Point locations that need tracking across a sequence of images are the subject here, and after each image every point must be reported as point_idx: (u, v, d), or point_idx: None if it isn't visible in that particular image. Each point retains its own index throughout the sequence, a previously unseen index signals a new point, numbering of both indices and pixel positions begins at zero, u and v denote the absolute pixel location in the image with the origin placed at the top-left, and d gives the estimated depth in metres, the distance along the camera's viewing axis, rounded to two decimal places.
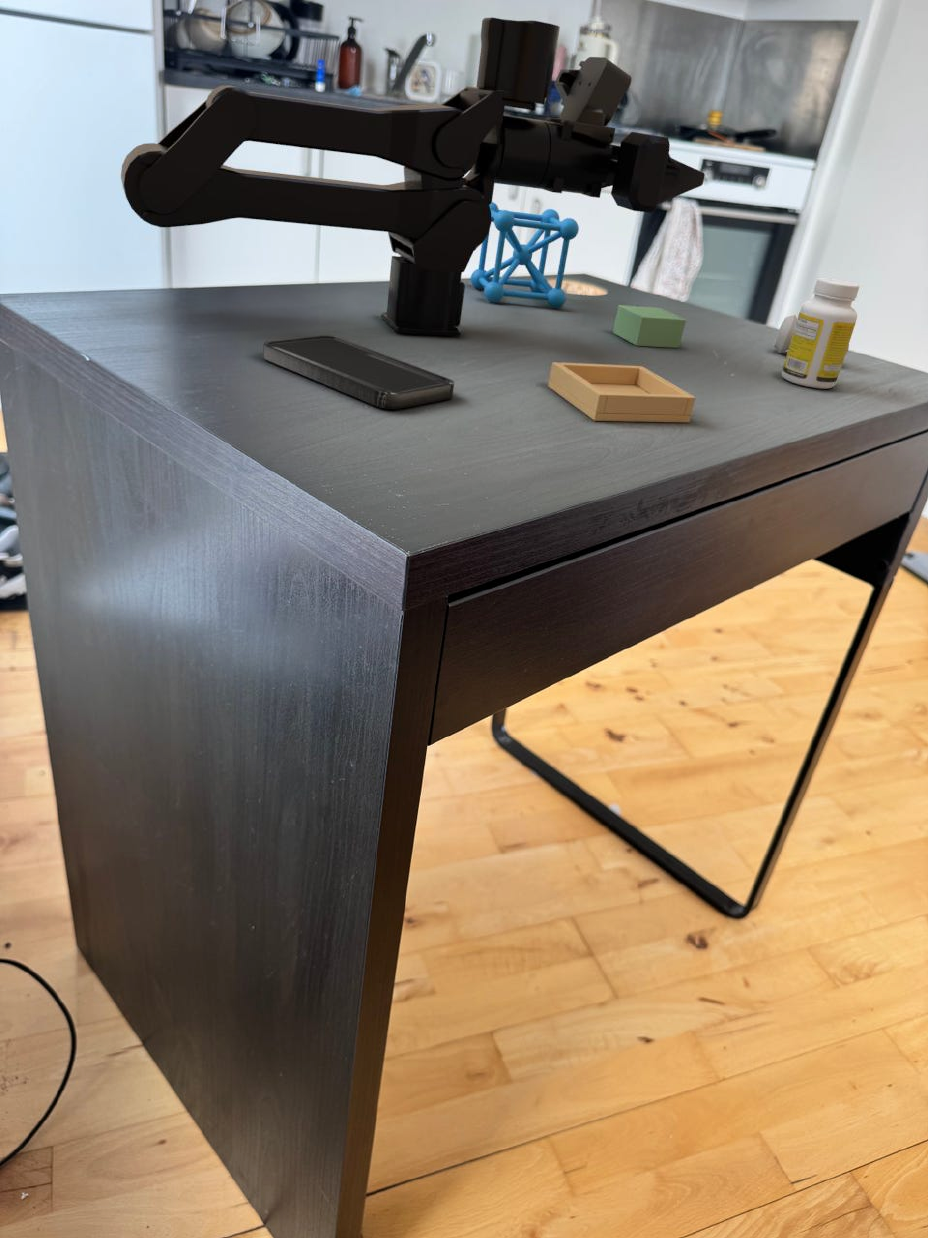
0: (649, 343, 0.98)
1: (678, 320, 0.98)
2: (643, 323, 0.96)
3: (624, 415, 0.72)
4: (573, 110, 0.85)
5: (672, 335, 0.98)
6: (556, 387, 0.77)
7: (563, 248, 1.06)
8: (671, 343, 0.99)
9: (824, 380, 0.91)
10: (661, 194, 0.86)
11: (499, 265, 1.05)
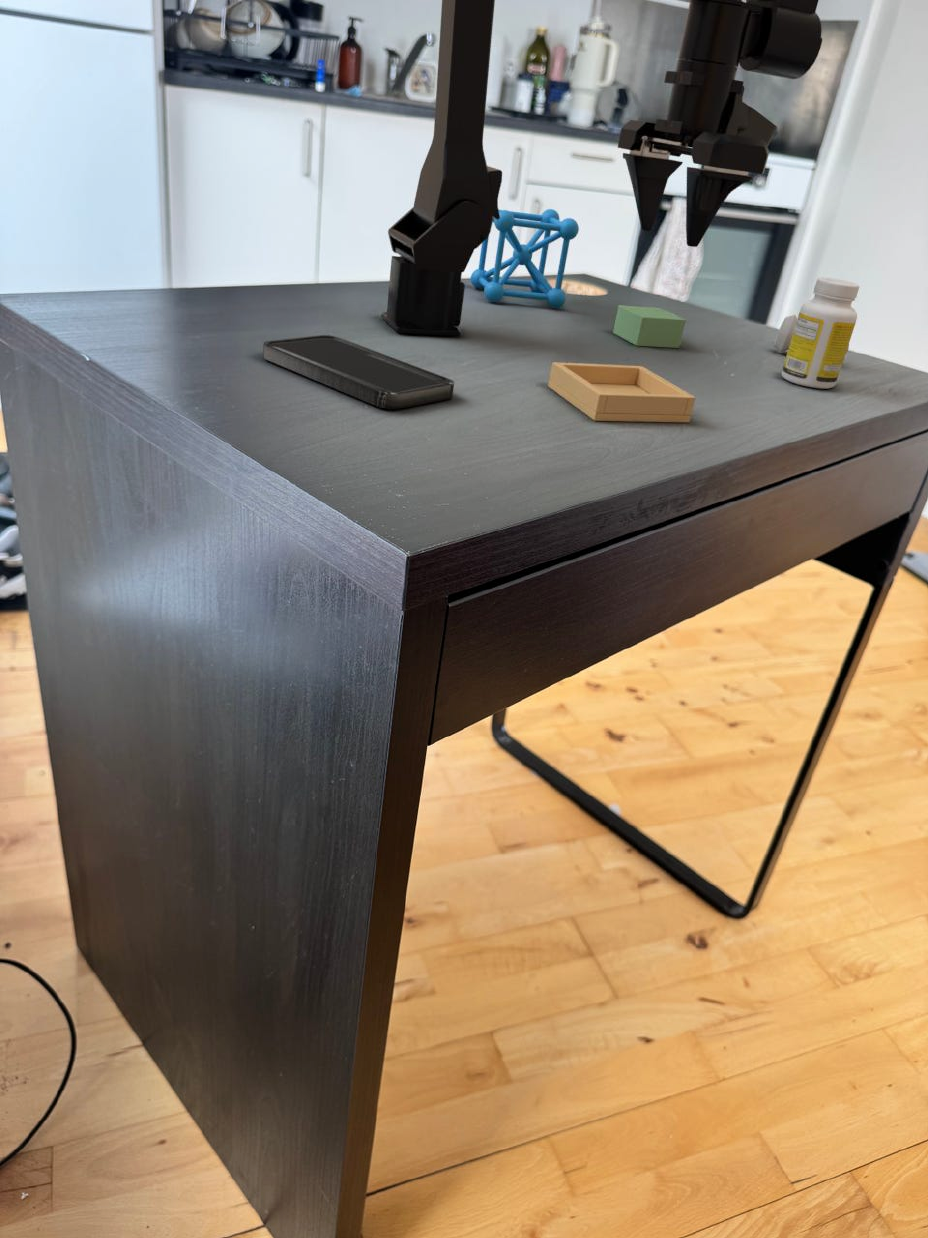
0: (649, 343, 0.98)
1: (678, 320, 0.98)
2: (643, 323, 0.96)
3: (624, 415, 0.72)
4: None
5: (672, 335, 0.98)
6: (556, 387, 0.77)
7: (563, 248, 1.06)
8: (671, 343, 0.99)
9: (824, 380, 0.91)
10: (701, 189, 0.87)
11: (499, 265, 1.05)
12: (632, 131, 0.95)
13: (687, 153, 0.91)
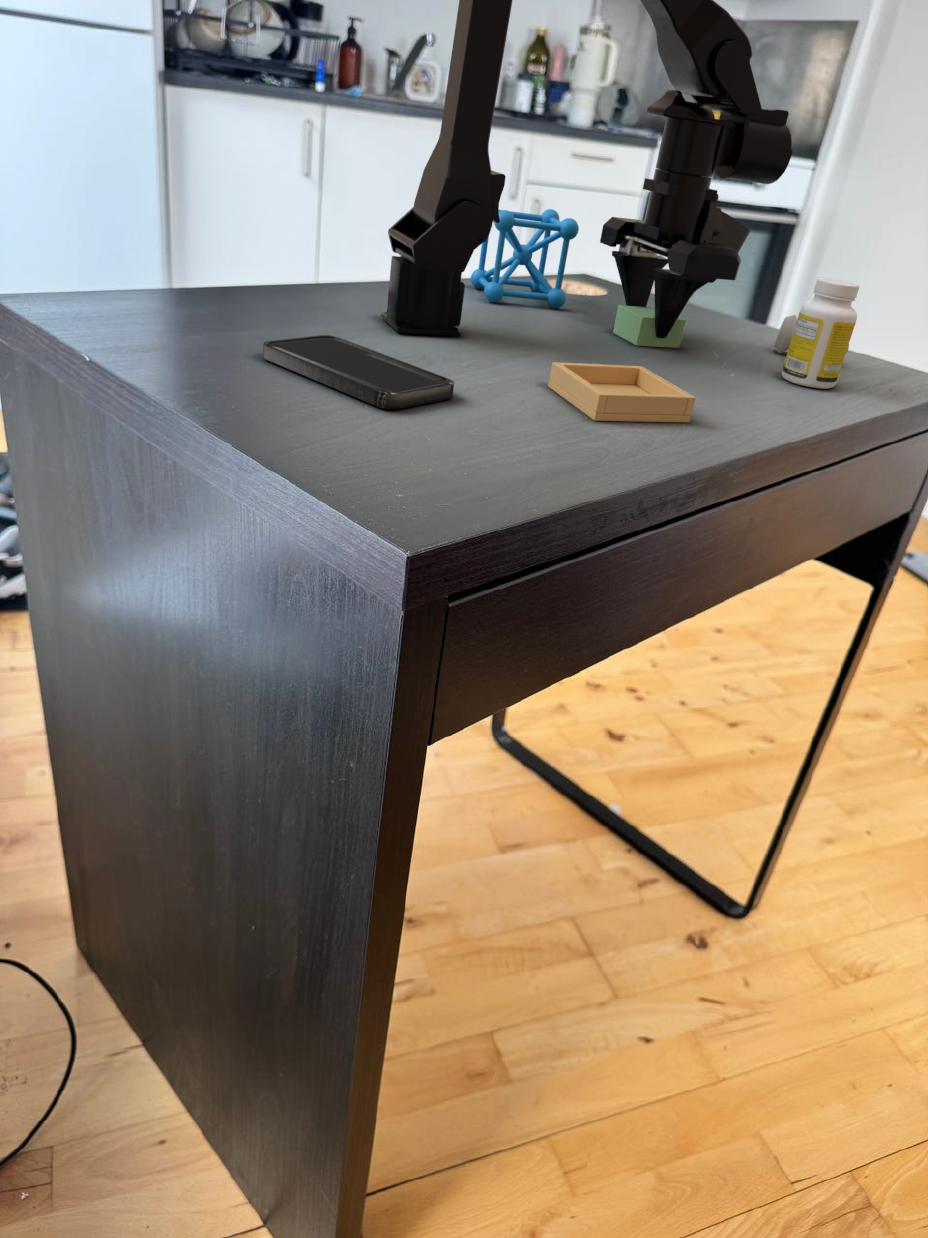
0: (649, 343, 0.98)
1: (678, 320, 0.98)
2: (642, 323, 0.96)
3: (624, 415, 0.72)
4: None
5: (672, 335, 0.98)
6: (556, 387, 0.77)
7: (563, 248, 1.06)
8: (671, 343, 0.99)
9: (824, 380, 0.91)
10: (667, 288, 0.93)
11: (499, 265, 1.05)
12: (613, 229, 0.99)
13: (665, 254, 0.95)
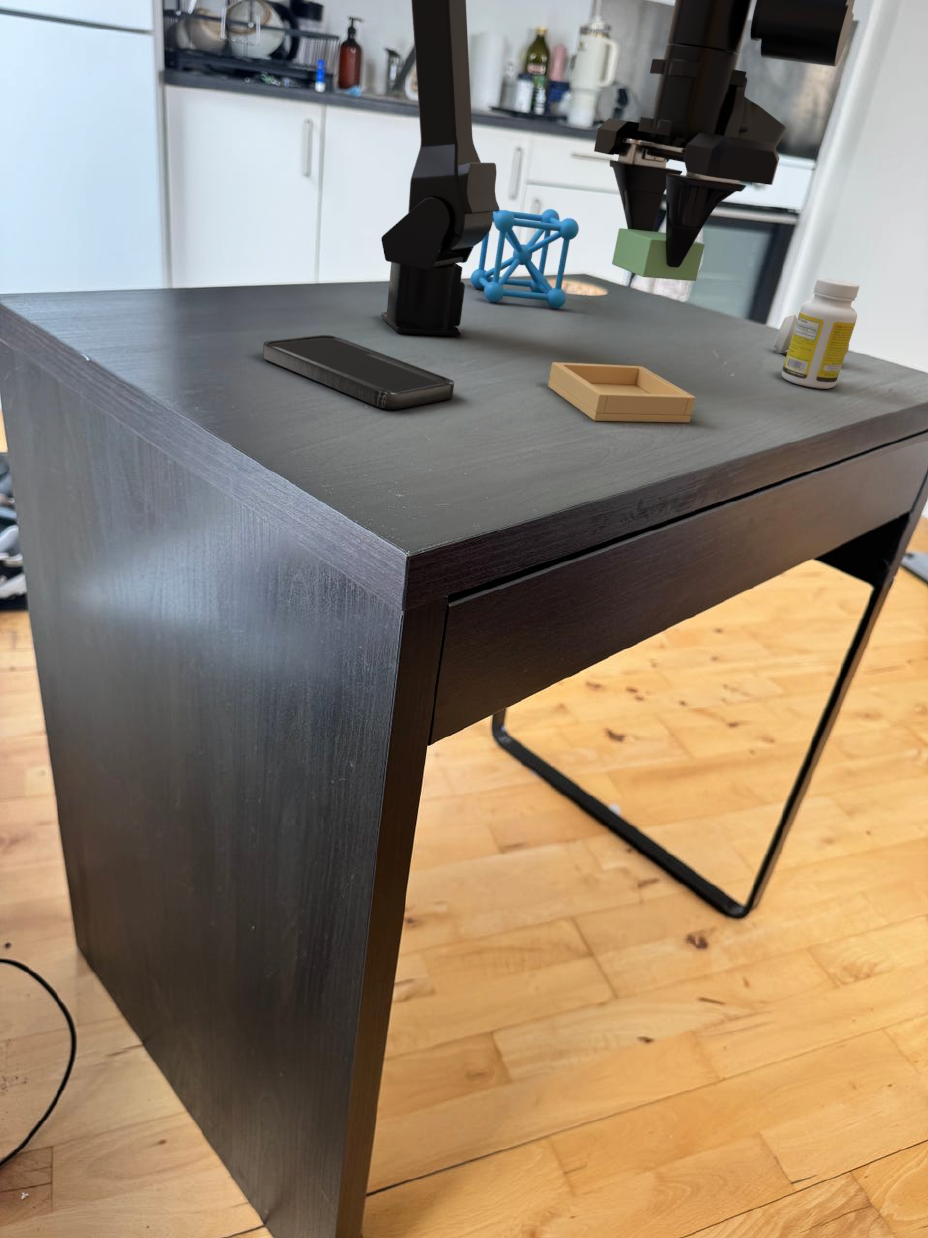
0: (659, 274, 0.77)
1: (695, 244, 0.77)
2: (651, 247, 0.76)
3: (624, 415, 0.72)
4: None
5: (687, 264, 0.78)
6: (556, 387, 0.77)
7: (563, 248, 1.06)
8: (686, 274, 0.78)
9: (824, 380, 0.91)
10: (683, 200, 0.73)
11: (499, 265, 1.05)
12: (611, 132, 0.79)
13: (678, 159, 0.75)
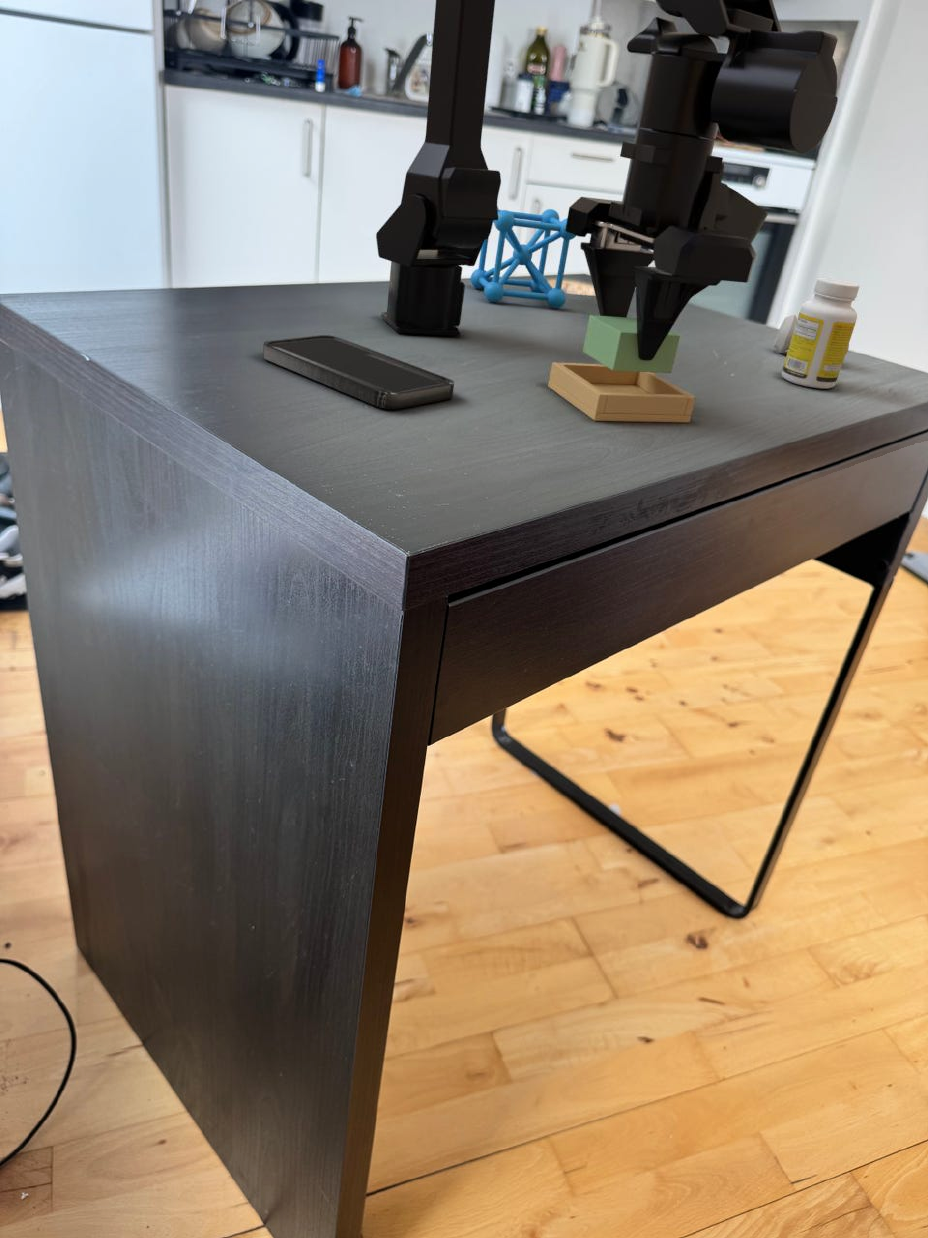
0: (630, 367, 0.72)
1: (670, 336, 0.72)
2: (621, 340, 0.71)
3: (624, 415, 0.72)
4: None
5: (662, 356, 0.73)
6: (556, 387, 0.77)
7: (563, 248, 1.06)
8: (660, 366, 0.73)
9: (824, 380, 0.91)
10: (654, 294, 0.68)
11: (499, 265, 1.05)
12: (582, 213, 0.74)
13: (650, 247, 0.70)
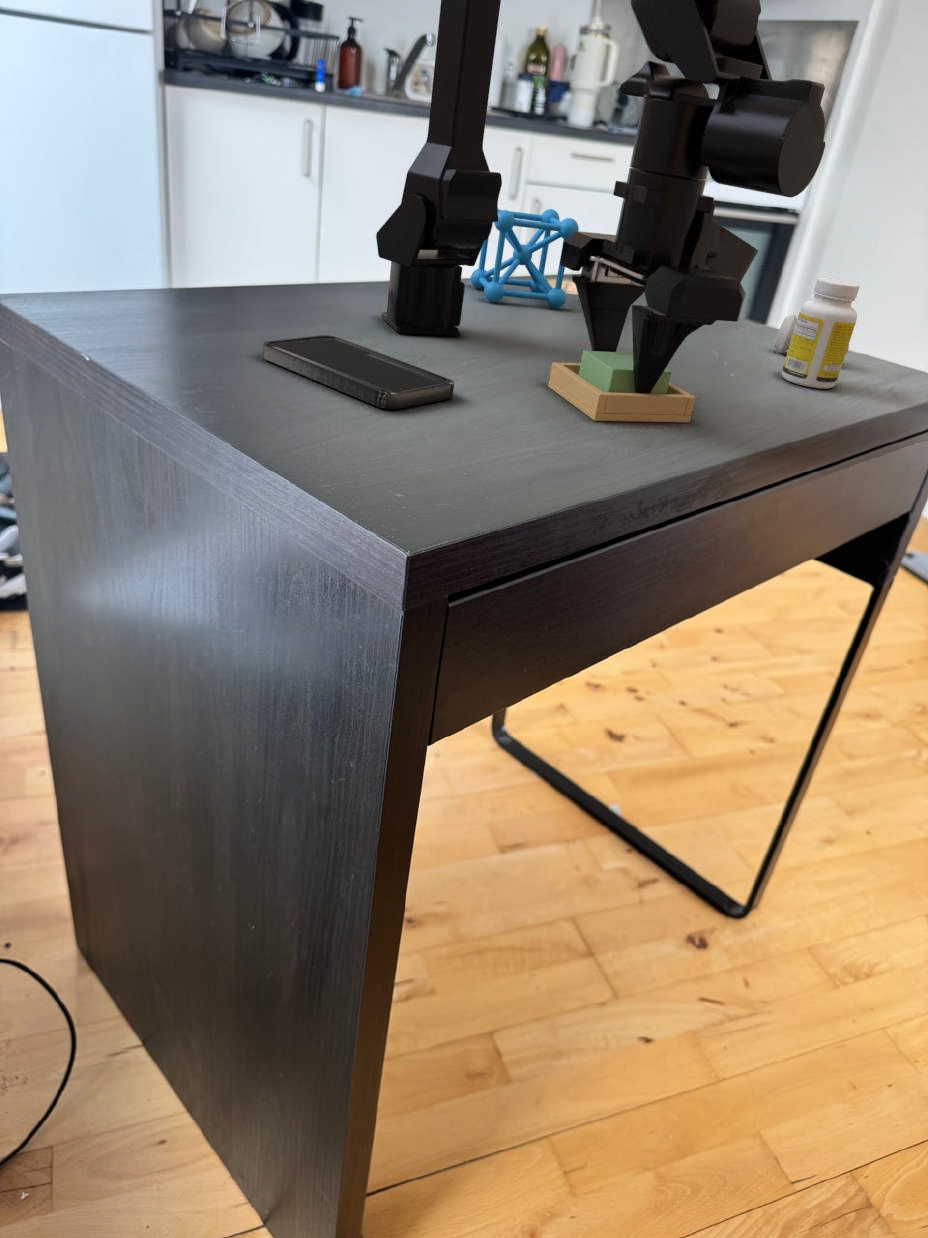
0: None
1: None
2: (613, 377, 0.72)
3: (624, 415, 0.72)
4: None
5: (653, 392, 0.74)
6: (556, 387, 0.77)
7: None
8: None
9: (824, 380, 0.91)
10: (650, 332, 0.68)
11: (499, 265, 1.05)
12: (576, 248, 0.75)
13: (643, 283, 0.71)
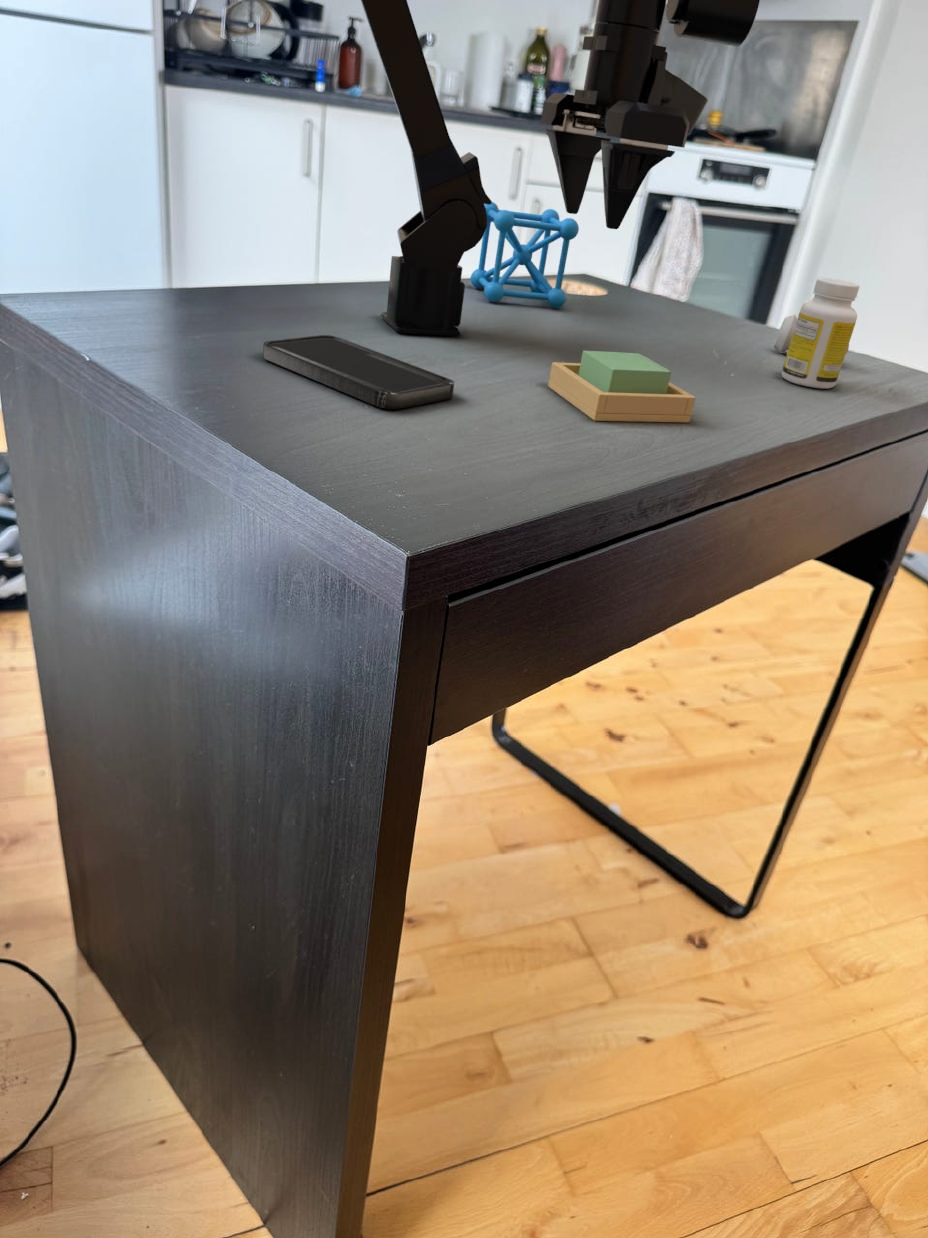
0: None
1: (661, 372, 0.73)
2: (613, 377, 0.72)
3: (624, 415, 0.72)
4: None
5: (653, 392, 0.74)
6: (556, 387, 0.77)
7: (563, 248, 1.06)
8: None
9: (824, 380, 0.91)
10: (616, 164, 0.79)
11: (499, 265, 1.05)
12: (553, 104, 0.87)
13: None
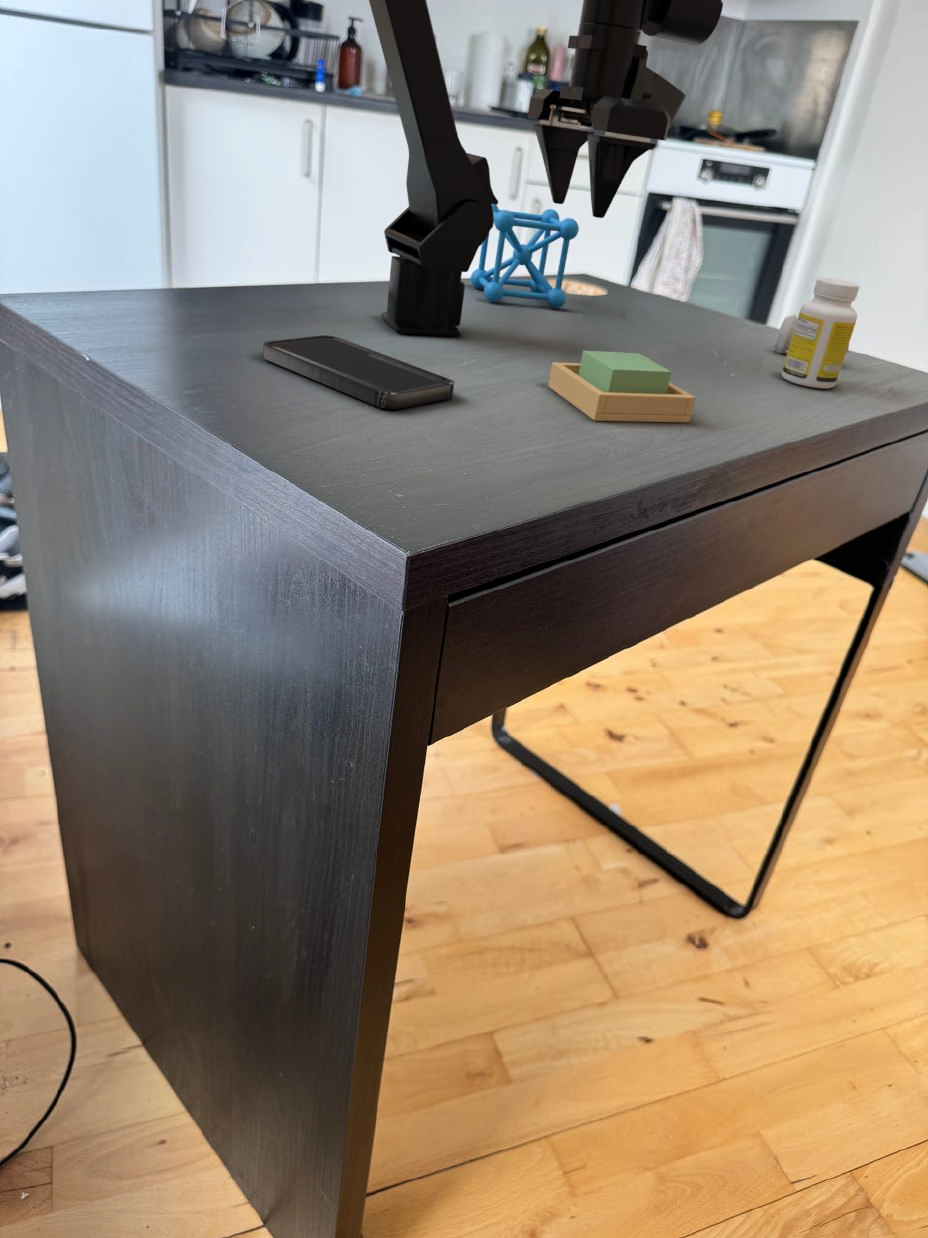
0: None
1: (661, 372, 0.73)
2: (613, 377, 0.72)
3: (624, 415, 0.72)
4: None
5: (653, 392, 0.74)
6: (556, 387, 0.77)
7: (563, 248, 1.06)
8: None
9: (824, 380, 0.91)
10: (602, 156, 0.84)
11: (499, 265, 1.05)
12: (540, 100, 0.92)
13: None
